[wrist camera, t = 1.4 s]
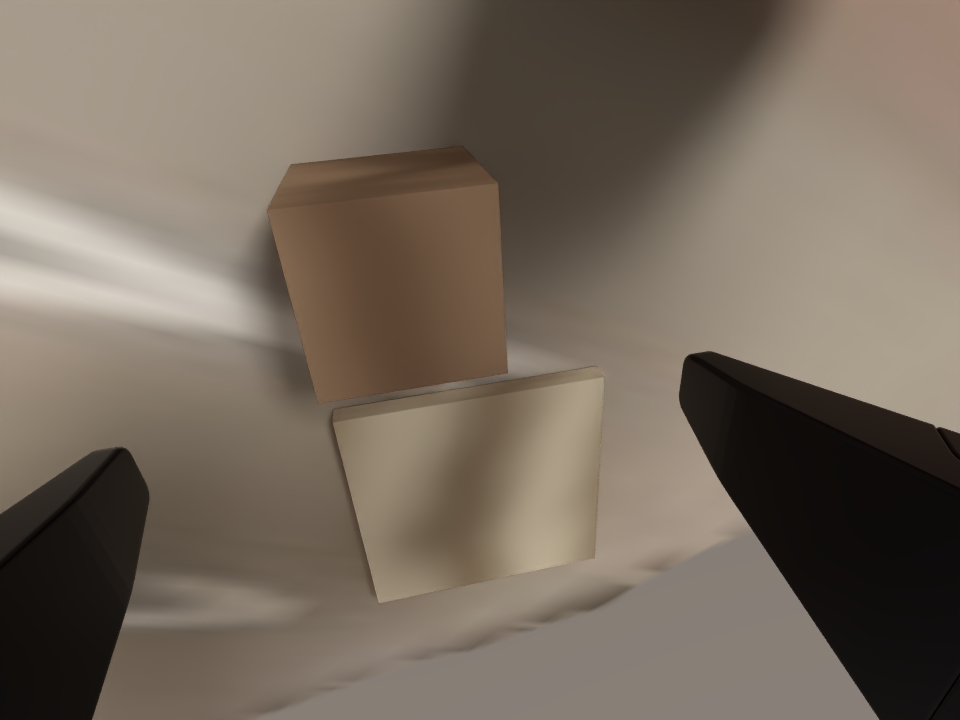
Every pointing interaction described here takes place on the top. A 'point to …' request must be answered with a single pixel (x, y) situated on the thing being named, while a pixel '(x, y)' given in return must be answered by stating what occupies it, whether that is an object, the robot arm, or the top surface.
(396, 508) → the birch coaster
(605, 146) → the top surface
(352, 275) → the walnut cube
